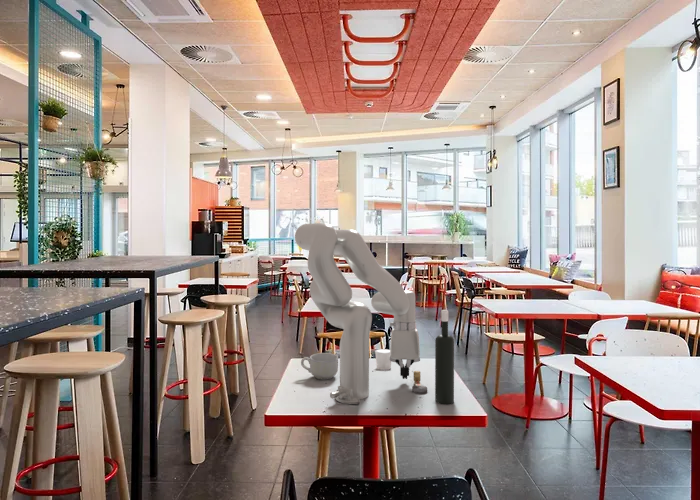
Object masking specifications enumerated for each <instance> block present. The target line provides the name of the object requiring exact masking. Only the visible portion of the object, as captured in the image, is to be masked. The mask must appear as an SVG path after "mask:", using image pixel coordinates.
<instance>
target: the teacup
mask: <svg viewBox="0 0 700 500" xmlns="http://www.w3.org/2000/svg"><path fill="white" fill-rule="evenodd" d="M304 361H308V364H309V367H308V366H306V365H305V363H304ZM300 365H301V366H302V368H304V370H306V371H308V373H310V374H311V375H312V377H315V379H317V380H325V381H326V380H331V379H333V378H334V376H336V374H337V373H338V370H339V369H338V368H339V356H338V355H337V354H335V353H330V352H319V353H314V354H311V355H310V356H305V357H302V359H301V361H300Z"/></svg>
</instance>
